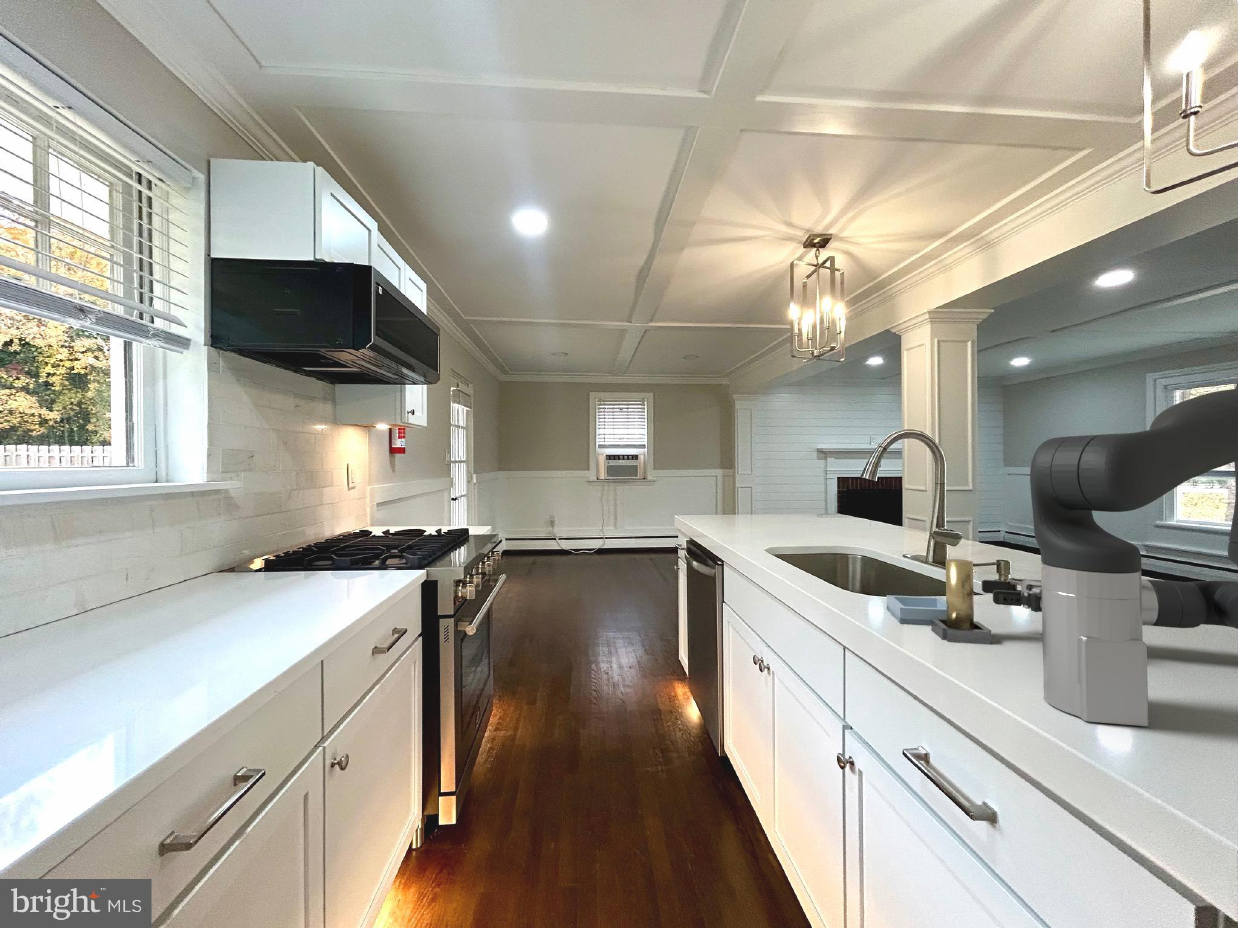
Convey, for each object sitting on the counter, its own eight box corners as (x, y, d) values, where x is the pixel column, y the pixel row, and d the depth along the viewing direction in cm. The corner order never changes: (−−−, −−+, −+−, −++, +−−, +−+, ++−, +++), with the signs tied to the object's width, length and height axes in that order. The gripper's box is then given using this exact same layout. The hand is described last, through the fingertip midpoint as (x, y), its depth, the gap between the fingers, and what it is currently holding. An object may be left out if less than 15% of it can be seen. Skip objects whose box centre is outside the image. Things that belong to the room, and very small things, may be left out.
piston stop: (978, 640, 90) (976, 563, 91) (951, 638, 91) (950, 562, 91) (968, 633, 94) (967, 559, 94) (943, 631, 95) (942, 558, 95)
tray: (960, 626, 98) (959, 610, 98) (900, 623, 101) (900, 607, 101) (940, 612, 108) (940, 597, 108) (886, 609, 110) (886, 595, 110)
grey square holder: (994, 644, 88) (994, 632, 88) (944, 641, 90) (944, 629, 90) (975, 630, 96) (975, 619, 96) (929, 628, 97) (929, 617, 97)
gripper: (1090, 568, 91) (978, 562, 98) (1130, 585, 78) (997, 577, 85) (1091, 612, 91) (978, 603, 98) (1131, 636, 78) (997, 624, 85)
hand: (987, 591), depth 91 cm, fingers open, 8 cm apart
